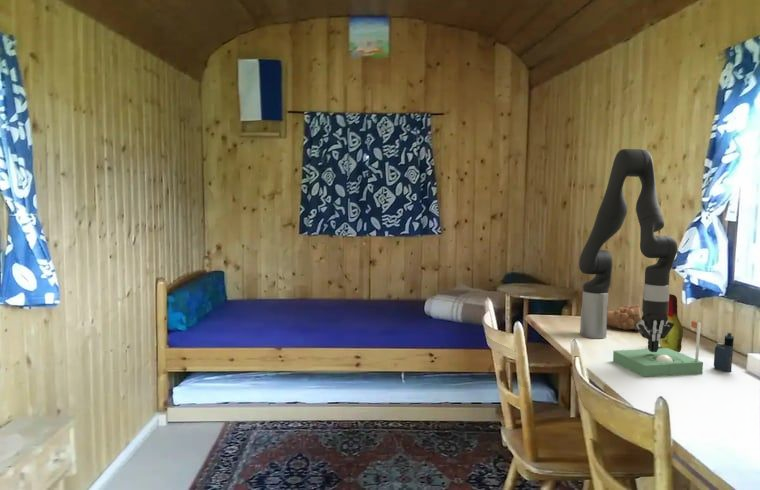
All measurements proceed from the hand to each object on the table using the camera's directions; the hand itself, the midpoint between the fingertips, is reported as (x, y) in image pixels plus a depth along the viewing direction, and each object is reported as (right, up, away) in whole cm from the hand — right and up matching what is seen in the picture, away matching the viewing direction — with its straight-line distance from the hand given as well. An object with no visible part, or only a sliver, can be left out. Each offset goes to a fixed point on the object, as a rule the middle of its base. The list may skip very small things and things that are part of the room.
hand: (652, 351), depth 183 cm
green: (0, -5, -1) cm, 5 cm away
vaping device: (+20, -5, -4) cm, 21 cm away
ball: (+1, -3, -5) cm, 6 cm away
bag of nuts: (+11, 0, +50) cm, 52 cm away
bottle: (+14, -3, +17) cm, 23 cm away
